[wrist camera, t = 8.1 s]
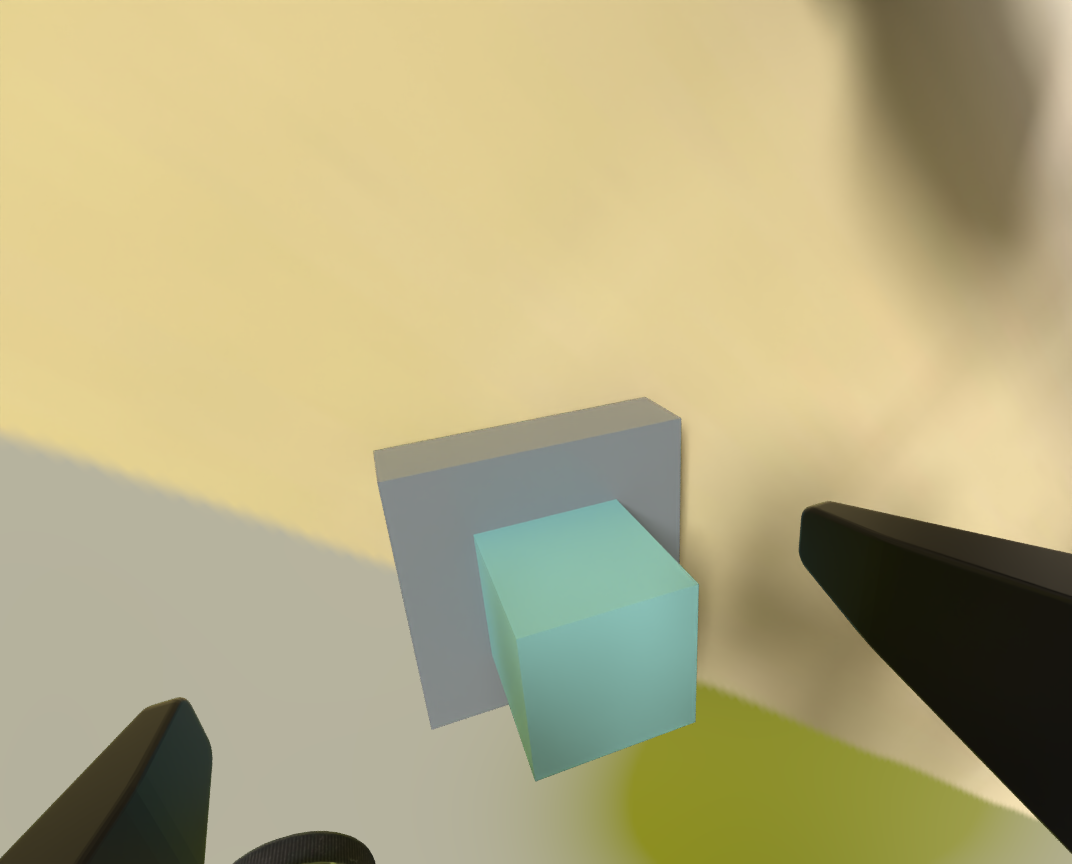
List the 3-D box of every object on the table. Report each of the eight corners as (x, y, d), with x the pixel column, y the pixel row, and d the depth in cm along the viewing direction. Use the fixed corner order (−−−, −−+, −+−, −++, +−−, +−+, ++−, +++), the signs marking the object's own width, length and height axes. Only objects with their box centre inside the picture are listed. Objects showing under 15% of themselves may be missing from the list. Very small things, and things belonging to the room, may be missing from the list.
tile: (645, 397, 21) (681, 417, 19) (648, 610, 25) (678, 648, 23) (373, 450, 19) (377, 482, 16) (422, 678, 22) (431, 729, 20)
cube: (616, 499, 19) (698, 584, 15) (621, 615, 21) (695, 722, 17) (473, 534, 18) (516, 639, 14) (492, 655, 20) (535, 781, 15)
